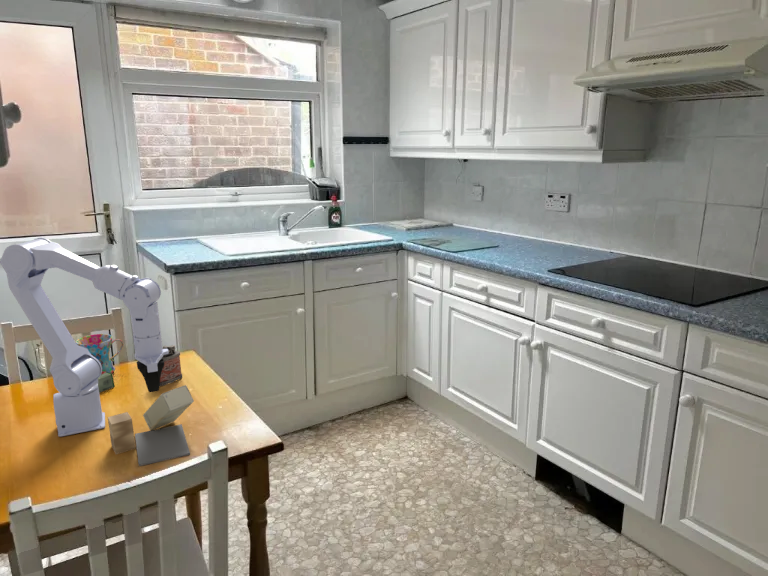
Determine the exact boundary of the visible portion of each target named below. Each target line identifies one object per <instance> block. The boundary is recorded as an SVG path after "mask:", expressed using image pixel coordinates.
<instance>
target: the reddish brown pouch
mask: <svg viewBox="0 0 768 576" xmlns="http://www.w3.org/2000/svg"><path fill="white" fill-rule="evenodd" d="M162 348H163V349H168V351H169V354H165V355H163V359H164V363H165V364H164V367H163V369H162V372H161V377H160V387H162V386H166V385H168V384H172V383H174V381H175V382H177V381H178V379H179V380H181V379H183V373H182V369H181V368H182V366H181V365H182V364H181V357H180V356H181V352H180V351H179V350H176V345H175V344H171V345H164V346H163V345H162ZM180 378H181V379H180ZM176 380H177V381H176Z"/></svg>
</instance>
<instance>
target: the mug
mask: <svg viewBox="0 0 768 576" xmlns="http://www.w3.org/2000/svg"><path fill="white" fill-rule="evenodd" d="M117 341H118V342H120V343H121V345H120V348H119V350H118V351H117V352H116V353H115V354H114V355H113V356H112V357H111V356H110V355H111V354H110V352H111V351H110V350H111V348H112V344H113V343H114V342H117ZM75 342H76V344H77V345H78V346H81V347H84V348H86V349H88V351H89V352H90V354H91V355H92V356H93V357H95V358H96V359H98V360H99V362H100V363H101V365H102V373H101V374H103V373H106V372H109V373H112V374H114V372H115V370H116V367H115V366H114V365H113V363H112V362H115V360H114V358H115V357H117V356H118V355H119V354H120V353H121V351H122V350H123V348H124V342H123V340H122V339H119V338H116V339H113V336H112V335H111V334H108V333H95V334H89V335H85V336H82V337H80V338H78V339H76V340H75Z"/></svg>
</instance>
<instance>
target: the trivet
mask: <svg viewBox="0 0 768 576" xmlns="http://www.w3.org/2000/svg"><path fill="white" fill-rule="evenodd" d="M134 439H135V447H136V454H137V462H138V467H142V466H147V465H150V464H155V463H159V462H163V461H169V460H172V459H177V458H182V457H185V456H190V455H191V452H190V448H189V445H188V441H187V438H186V434H185V432H184V427H183V424H181V423H180V424H176V425H171V426H166V427H160V428H157V429H155V430H151V431H150V430H146V431H142V432H138V433H137V432H136V433H134Z"/></svg>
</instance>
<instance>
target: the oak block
mask: <svg viewBox="0 0 768 576" xmlns="http://www.w3.org/2000/svg"><path fill="white" fill-rule="evenodd" d="M107 423H108V429H109V431H108V432H109V436H110V443H111V444H110V445H111V448H112V450H113V452H114V453H115V455H119V454H122V453H125V452H129V451H132V450H135V449H136V450H137V447H136V439H135V433H134V425H133V417H132V416H131V415H130V413H129V411H126V412H123V413H118V414H114V415H111V416H107Z"/></svg>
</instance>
